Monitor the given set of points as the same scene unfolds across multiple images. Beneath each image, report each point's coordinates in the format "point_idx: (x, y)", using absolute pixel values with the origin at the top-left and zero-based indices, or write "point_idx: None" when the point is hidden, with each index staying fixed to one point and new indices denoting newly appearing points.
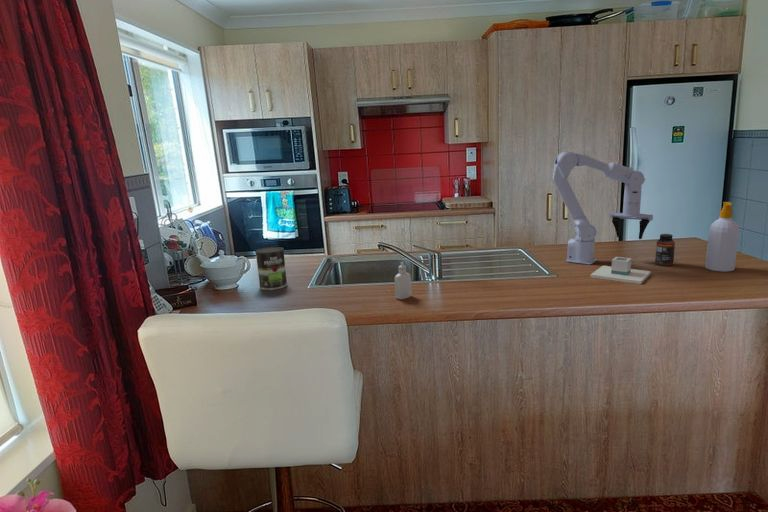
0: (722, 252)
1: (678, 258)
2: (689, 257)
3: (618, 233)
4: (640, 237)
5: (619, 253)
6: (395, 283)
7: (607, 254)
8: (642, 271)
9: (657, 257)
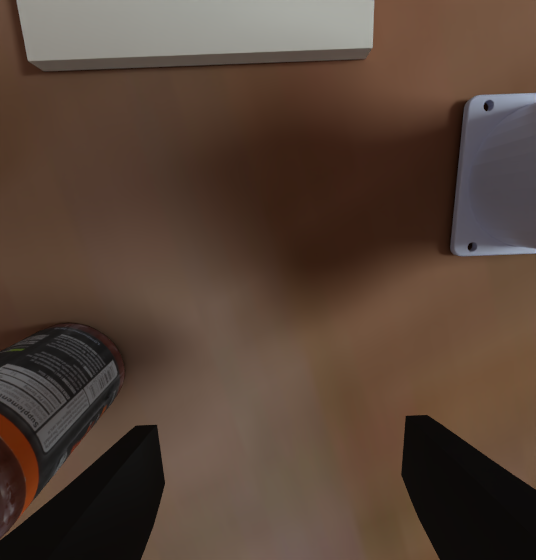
0: None
1: None
2: None
3: (445, 448)
4: (123, 438)
5: (366, 481)
6: None
7: None
8: (72, 20)
9: (75, 351)
